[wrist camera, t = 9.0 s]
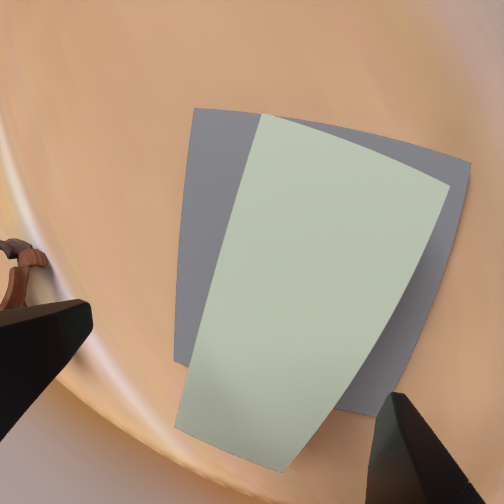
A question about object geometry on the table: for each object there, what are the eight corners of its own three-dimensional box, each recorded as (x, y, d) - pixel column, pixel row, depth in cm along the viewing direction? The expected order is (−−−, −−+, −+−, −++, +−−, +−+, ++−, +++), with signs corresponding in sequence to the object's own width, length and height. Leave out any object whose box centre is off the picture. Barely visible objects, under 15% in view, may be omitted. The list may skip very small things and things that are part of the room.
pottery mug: (11, 283, 31) (-38, 271, 23) (55, 233, 31) (6, 209, 23) (50, 369, 28) (-4, 374, 20) (101, 321, 28) (47, 317, 20)
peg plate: (465, 162, 15) (493, 165, 11) (378, 408, 21) (378, 446, 17) (201, 110, 18) (168, 101, 14) (179, 354, 24) (154, 383, 20)
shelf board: (422, 177, 12) (450, 186, 9) (295, 425, 18) (282, 473, 14) (284, 124, 13) (262, 112, 10) (202, 386, 19) (174, 427, 15)
